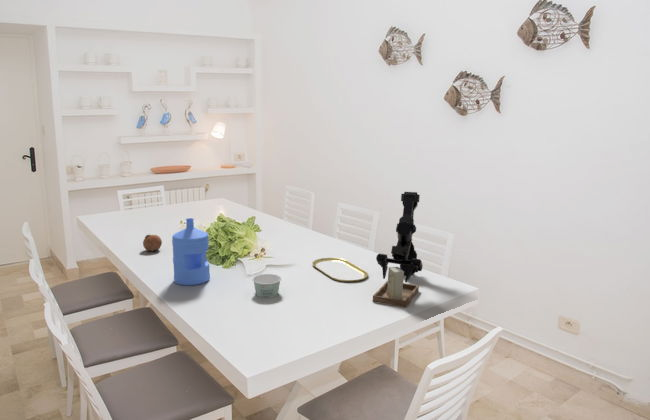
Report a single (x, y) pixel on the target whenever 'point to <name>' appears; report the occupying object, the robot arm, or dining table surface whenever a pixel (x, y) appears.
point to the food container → (266, 285)
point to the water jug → (190, 255)
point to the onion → (152, 242)
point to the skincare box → (395, 282)
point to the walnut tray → (407, 297)
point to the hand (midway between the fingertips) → (394, 280)
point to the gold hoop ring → (342, 262)
